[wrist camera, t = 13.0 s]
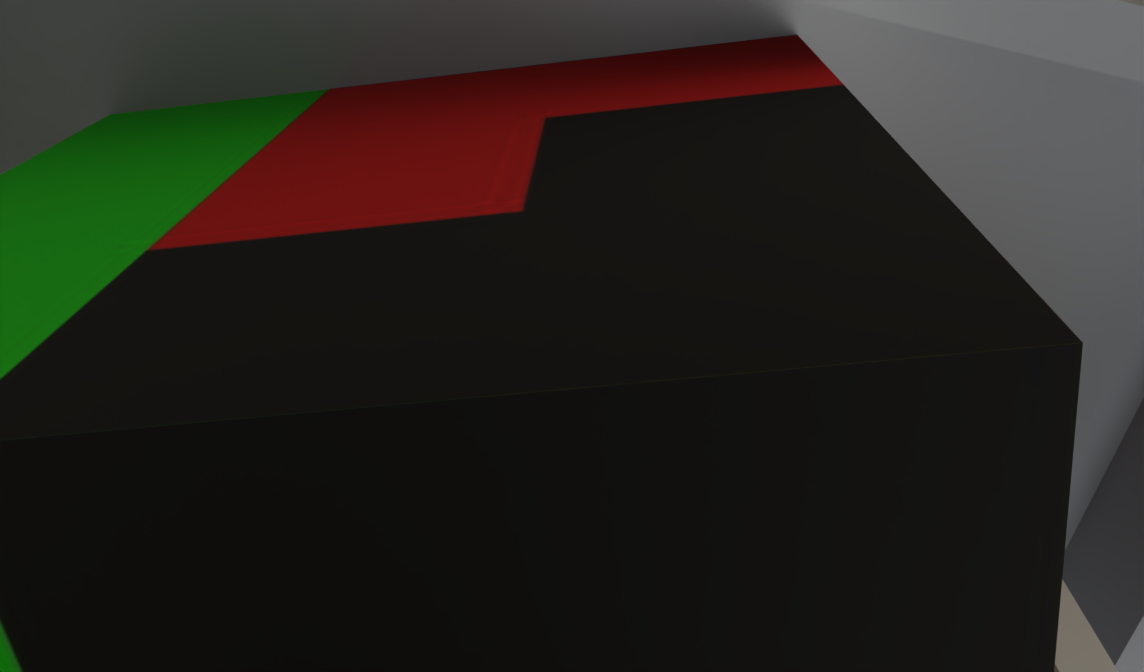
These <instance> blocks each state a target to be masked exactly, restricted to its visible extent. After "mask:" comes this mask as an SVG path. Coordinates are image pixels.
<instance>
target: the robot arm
mask: <svg viewBox="0 0 1144 672" xmlns="http://www.w3.org/2000/svg"><path fill="white" fill-rule="evenodd" d="M1054 672H1118V670H1117V669H1116V667H1115V665H1114V664H1113V662H1112V660H1111V659H1110V657H1109V655H1108V654H1107V652H1106V650H1105V649H1104V647H1103V645H1102V644H1101V642H1100V640H1099V639H1098V637H1097V636H1096V634H1095V632H1094V631H1093V629H1092V627H1091V626H1090V624H1089V622H1088V621H1087V619H1086V617H1085V616H1084V614H1083V612H1082V611H1081V609H1080V607H1079V606H1078V604H1077V602H1076V601H1075V599H1074V597H1073V596H1072V594H1071V592H1070V591H1069V589H1068V587H1067V586H1066V584H1065V582H1064V581H1063V579H1062V588H1061V599H1060V611H1059V622H1058V633H1057V645H1056V656H1055V667H1054Z"/></svg>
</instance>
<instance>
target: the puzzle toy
mask: <svg viewBox="0 0 1144 672" xmlns="http://www.w3.org/2000/svg"><path fill="white" fill-rule="evenodd" d="M1082 349H1083V342H1082V341H1081V340H1080V339H1079V338H1078V337H1077V336H1076V335H1075V334H1074V332H1073V331H1072V330H1071V329H1070V328H1069V327H1068V326H1067V325H1066V324H1065V323H1064V322H1063V321H1062V319H1061V318H1060V317H1059V316H1058V315H1057V314H1056V313H1055V312H1054V311H1053V310H1052V309H1051V308H1050V307H1049V305H1048V304H1047V303H1046V302H1045V301H1044V300H1043V299H1042V298H1041V297H1040V296H1039V295H1038V294H1037V293H1036V291H1035V290H1034V289H1033V288H1032V287H1031V286H1030V285H1029V284H1028V283H1027V282H1026V281H1025V280H1024V278H1023V277H1022V276H1021V275H1020V274H1019V273H1018V272H1017V271H1016V270H1015V269H1014V268H1013V267H1012V266H1011V264H1010V263H1009V262H1008V261H1007V260H1006V259H1005V258H1004V257H1003V256H1002V255H1001V254H1000V253H999V252H998V250H997V249H996V248H995V247H994V246H993V245H992V244H991V243H990V242H989V241H988V240H987V239H986V237H985V236H984V235H983V234H982V233H981V232H980V231H979V230H978V229H977V228H976V227H975V226H974V225H973V223H972V222H971V221H970V220H969V219H968V218H967V217H966V216H965V215H964V214H963V213H962V212H961V211H960V209H959V208H958V207H957V206H956V205H955V204H954V203H953V202H952V201H951V200H950V199H949V198H948V196H947V195H946V194H945V193H944V192H943V191H942V190H941V189H940V188H939V187H938V186H937V185H936V184H935V182H934V181H933V180H932V179H931V178H930V177H929V176H928V175H927V174H926V173H925V172H924V171H923V170H922V168H921V167H920V166H919V165H918V164H917V163H916V162H915V161H914V160H913V159H912V158H911V157H910V155H909V154H908V153H907V152H906V151H905V150H904V149H903V148H902V147H901V146H900V145H899V144H898V143H897V141H896V140H895V139H894V138H893V137H892V136H891V135H890V134H889V133H888V132H887V131H886V130H885V129H884V127H883V126H882V125H881V124H880V123H879V122H878V121H877V120H876V119H875V118H874V117H873V116H872V114H871V113H870V112H869V111H868V110H867V109H866V108H865V107H864V106H863V105H862V104H861V103H860V102H859V100H858V99H857V98H856V97H855V96H854V95H853V94H852V93H851V92H850V91H849V90H848V89H847V88H846V86H845V85H844V84H843V83H842V82H841V81H840V80H839V79H838V78H837V77H836V76H835V75H834V73H833V72H832V71H831V70H830V69H829V68H828V67H827V66H826V65H825V64H824V63H823V62H822V61H821V59H820V58H819V57H818V56H817V55H816V54H815V53H814V52H813V51H812V50H811V49H810V48H809V47H808V45H807V44H806V43H805V42H804V41H803V40H802V39H801V38H800V37H799V36H798V35H789V36H781V37H772V38H763V39H755V40H746V41H737V42H729V43H720V44H712V45H703V46H694V47H686V48H677V49H669V50H660V51H651V52H643V53H634V54H626V55H617V56H608V57H600V58H591V59H583V60H574V61H565V62H557V63H548V64H539V65H531V66H522V67H514V68H505V69H496V70H488V71H479V72H471V73H462V74H453V75H445V76H436V77H428V78H419V79H410V80H402V81H393V82H385V83H376V84H367V85H359V86H350V87H341V88H333V89H324V90H316V91H307V92H298V93H290V94H281V95H273V96H264V97H255V98H247V99H238V100H230V101H221V102H212V103H204V104H195V105H186V106H178V107H169V108H161V109H152V110H143V111H135V112H126V113H118V114H110V115H108V116H106V117H104V118H102V119H101V120H99V121H97V122H95V123H93V124H91V125H90V126H88V127H86V128H84V129H82V130H81V131H79V132H77V133H75V134H73V135H71V136H70V137H68V138H66V139H64V140H62V141H60V142H59V143H57V144H55V145H53V146H51V147H50V148H48V149H46V150H44V151H42V152H40V153H39V154H37V155H35V156H33V157H31V158H29V159H28V160H26V161H24V162H22V163H20V164H19V165H17V166H15V167H13V168H11V169H9V170H8V171H6V172H4V173H2V174H0V672H1054V667H1055V656H1056V645H1057V633H1058V622H1059V611H1060V599H1061V588H1062V576H1063V565H1064V554H1065V542H1066V531H1067V520H1068V508H1069V497H1070V485H1071V474H1072V463H1073V451H1074V440H1075V429H1076V417H1077V406H1078V394H1079V383H1080V372H1081V360H1082Z"/></svg>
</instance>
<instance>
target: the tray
mask: <svg viewBox="0 0 1144 672" xmlns="http://www.w3.org/2000/svg"><path fill="white" fill-rule="evenodd" d="M789 35H798V36H799V37H800V38H801V39H802V40H803V41H804V42H805V43H806V44H807V45H808V47H809V48H810V49H811V50H812V51H813V52H814V53H815V54H816V55H817V56H818V57H819V58H820V59H821V61H822V62H823V63H824V64H825V65H826V66H827V67H828V68H829V69H830V70H831V71H832V72H833V73H834V75H835V76H836V77H837V78H838V79H839V80H840V81H841V82H842V83H843V84H844V85H845V86H846V88H847V89H848V90H849V91H850V92H851V93H852V94H853V95H854V96H855V97H856V98H857V99H858V100H859V102H860V103H861V104H862V105H863V106H864V107H865V108H866V109H867V110H868V111H869V112H870V113H871V114H872V116H873V117H874V118H875V119H876V120H877V121H878V122H879V123H880V124H881V125H882V126H883V127H884V129H885V130H886V131H887V132H888V133H889V134H890V135H891V136H892V137H893V138H894V139H895V140H896V141H897V143H898V144H899V145H900V146H901V147H902V148H903V149H904V150H905V151H906V152H907V153H908V154H909V155H910V157H911V158H912V159H913V160H914V161H915V162H916V163H917V164H918V165H919V166H920V167H921V168H922V170H923V171H924V172H925V173H926V174H927V175H928V176H929V177H930V178H931V179H932V180H933V181H934V182H935V184H936V185H937V186H938V187H939V188H940V189H941V190H942V191H943V192H944V193H945V194H946V195H947V196H948V198H949V199H950V200H951V201H952V202H953V203H954V204H955V205H956V206H957V207H958V208H959V209H960V211H961V212H962V213H963V214H964V215H965V216H966V217H967V218H968V219H969V220H970V221H971V222H972V223H973V225H974V226H975V227H976V228H977V229H978V230H979V231H980V232H981V233H982V234H983V235H984V236H985V237H986V239H987V240H988V241H989V242H990V243H991V244H992V245H993V246H994V247H995V248H996V249H997V250H998V252H999V253H1000V254H1001V255H1002V256H1003V257H1004V258H1005V259H1006V260H1007V261H1008V262H1009V263H1010V264H1011V266H1012V267H1013V268H1014V269H1015V270H1016V271H1017V272H1018V273H1019V274H1020V275H1021V276H1022V277H1023V278H1024V280H1025V281H1026V282H1027V283H1028V284H1029V285H1030V286H1031V287H1032V288H1033V289H1034V290H1035V291H1036V293H1037V294H1038V295H1039V296H1040V297H1041V298H1042V299H1043V300H1044V301H1045V302H1046V303H1047V304H1048V305H1049V307H1050V308H1051V309H1052V310H1053V311H1054V312H1055V313H1056V314H1057V315H1058V316H1059V317H1060V318H1061V319H1062V321H1063V322H1064V323H1065V324H1066V325H1067V326H1068V327H1069V328H1070V329H1071V330H1072V331H1073V332H1074V334H1075V335H1076V336H1077V337H1078V338H1079V339H1080V340H1081V341H1082V342H1083V349H1082V360H1081V372H1080V383H1079V394H1078V406H1077V417H1076V429H1075V440H1074V451H1073V463H1072V474H1071V485H1070V497H1069V508H1068V520H1067V531H1066V542H1065V554H1064V565H1063V576H1062V579H1063V581H1064V582H1065V584H1066V586H1067V587H1068V589H1069V591H1070V592H1071V594H1072V596H1073V597H1074V599H1075V601H1076V602H1077V604H1078V606H1079V607H1080V609H1081V611H1082V612H1083V614H1084V616H1085V617H1086V619H1087V621H1088V622H1089V624H1090V626H1091V627H1092V629H1093V631H1094V632H1095V634H1096V636H1097V637H1098V639H1099V640H1100V642H1101V644H1102V645H1103V647H1104V649H1105V650H1106V652H1107V654H1108V655H1109V657H1110V659H1111V660H1112V662H1113V664H1114V665H1115V667H1116V669H1117V670H1118V672H1144V0H0V174H2V173H4V172H6V171H8V170H9V169H11V168H13V167H15V166H17V165H19V164H20V163H22V162H24V161H26V160H28V159H29V158H31V157H33V156H35V155H37V154H39V153H40V152H42V151H44V150H46V149H48V148H50V147H51V146H53V145H55V144H57V143H59V142H60V141H62V140H64V139H66V138H68V137H70V136H71V135H73V134H75V133H77V132H79V131H81V130H82V129H84V128H86V127H88V126H90V125H91V124H93V123H95V122H97V121H99V120H101V119H102V118H104V117H106V116H108V115H110V114H118V113H126V112H135V111H143V110H152V109H161V108H169V107H178V106H186V105H195V104H204V103H212V102H221V101H230V100H238V99H247V98H255V97H264V96H273V95H281V94H290V93H298V92H307V91H316V90H324V89H333V88H341V87H350V86H359V85H367V84H376V83H385V82H393V81H402V80H410V79H419V78H428V77H436V76H445V75H453V74H462V73H471V72H479V71H488V70H496V69H505V68H514V67H522V66H531V65H539V64H548V63H557V62H565V61H574V60H583V59H591V58H600V57H608V56H617V55H626V54H634V53H643V52H651V51H660V50H669V49H677V48H686V47H694V46H703V45H712V44H720V43H729V42H737V41H746V40H755V39H763V38H772V37H781V36H789Z"/></svg>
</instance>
